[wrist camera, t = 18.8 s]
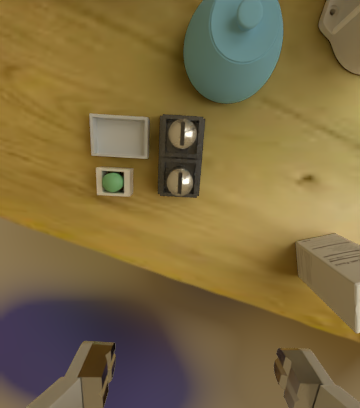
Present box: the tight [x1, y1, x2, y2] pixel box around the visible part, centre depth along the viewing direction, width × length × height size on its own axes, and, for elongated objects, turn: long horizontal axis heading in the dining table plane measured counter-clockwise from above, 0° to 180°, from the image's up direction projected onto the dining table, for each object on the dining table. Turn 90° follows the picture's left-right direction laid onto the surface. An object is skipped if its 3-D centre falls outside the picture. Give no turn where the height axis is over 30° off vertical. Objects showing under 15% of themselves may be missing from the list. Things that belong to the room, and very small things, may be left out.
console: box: [96, 166, 133, 197], centre depth 37 cm, size 5×6×3 cm
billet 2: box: [167, 166, 193, 196], centre depth 34 cm, size 4×4×8 cm
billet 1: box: [168, 119, 197, 150], centre depth 32 cm, size 4×4×8 cm
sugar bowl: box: [183, 0, 283, 104], centre depth 28 cm, size 15×15×12 cm
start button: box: [102, 172, 124, 192], centre depth 36 cm, size 3×3×3 cm
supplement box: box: [295, 233, 360, 333], centre depth 36 cm, size 9×9×15 cm
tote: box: [89, 114, 150, 159], centre depth 36 cm, size 7×10×2 cm
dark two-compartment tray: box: [158, 114, 205, 198], centre depth 36 cm, size 14×8×4 cm, turn 177°
